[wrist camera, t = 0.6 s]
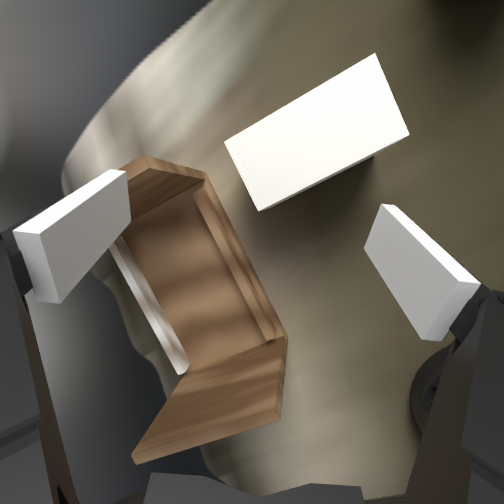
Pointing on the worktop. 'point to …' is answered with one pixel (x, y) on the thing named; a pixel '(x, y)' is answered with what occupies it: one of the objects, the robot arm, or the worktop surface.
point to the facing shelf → (199, 309)
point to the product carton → (318, 135)
